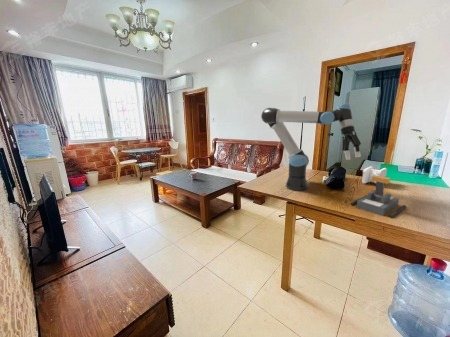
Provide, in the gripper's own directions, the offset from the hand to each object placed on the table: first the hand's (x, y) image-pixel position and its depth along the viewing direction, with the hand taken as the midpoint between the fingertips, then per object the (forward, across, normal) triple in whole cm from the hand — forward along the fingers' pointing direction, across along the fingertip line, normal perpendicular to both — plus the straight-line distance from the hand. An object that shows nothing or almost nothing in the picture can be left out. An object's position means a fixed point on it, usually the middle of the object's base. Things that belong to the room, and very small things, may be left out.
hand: (353, 158), depth 123 cm
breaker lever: (+25, -16, -1) cm, 30 cm away
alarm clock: (+12, +34, +2) cm, 36 cm away
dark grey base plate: (+29, -15, -1) cm, 33 cm away
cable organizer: (+19, +24, -20) cm, 36 cm away
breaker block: (+29, -15, -1) cm, 33 cm away
